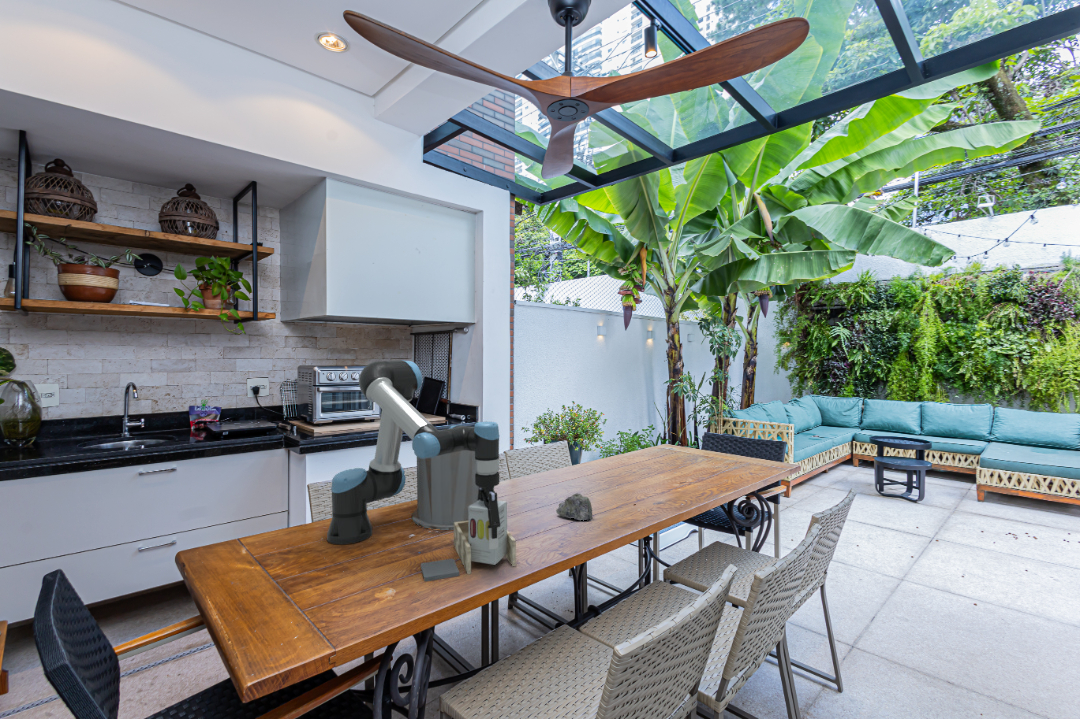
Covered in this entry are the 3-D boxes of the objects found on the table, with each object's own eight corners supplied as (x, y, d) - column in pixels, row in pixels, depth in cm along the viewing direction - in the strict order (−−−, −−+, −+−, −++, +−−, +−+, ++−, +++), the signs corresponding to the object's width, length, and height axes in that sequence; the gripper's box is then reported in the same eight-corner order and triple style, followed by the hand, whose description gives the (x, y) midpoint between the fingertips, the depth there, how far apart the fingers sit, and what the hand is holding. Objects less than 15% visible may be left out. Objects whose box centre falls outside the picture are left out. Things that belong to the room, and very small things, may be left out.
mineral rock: (554, 516, 194) (554, 491, 194) (575, 510, 200) (575, 486, 200) (575, 525, 184) (575, 499, 184) (596, 519, 190) (596, 494, 190)
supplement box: (467, 561, 148) (466, 506, 148) (481, 549, 157) (480, 497, 157) (495, 565, 145) (495, 509, 145) (508, 553, 154) (507, 500, 154)
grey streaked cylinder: (427, 537, 173) (426, 447, 172) (401, 510, 203) (400, 433, 202) (514, 519, 190) (513, 437, 190) (479, 497, 221) (478, 426, 220)
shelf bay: (453, 545, 165) (453, 522, 165) (496, 539, 170) (496, 516, 170) (467, 574, 144) (467, 547, 144) (516, 566, 149) (515, 540, 149)
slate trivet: (420, 567, 149) (420, 563, 149) (453, 562, 152) (453, 558, 152) (424, 581, 139) (424, 577, 139) (459, 575, 143) (459, 571, 143)
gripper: (510, 480, 140) (511, 553, 141) (489, 462, 164) (489, 525, 164) (485, 483, 138) (486, 557, 138) (467, 464, 161) (467, 528, 161)
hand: (488, 540), depth 151 cm, fingers closed on supplement box, 13 cm apart
